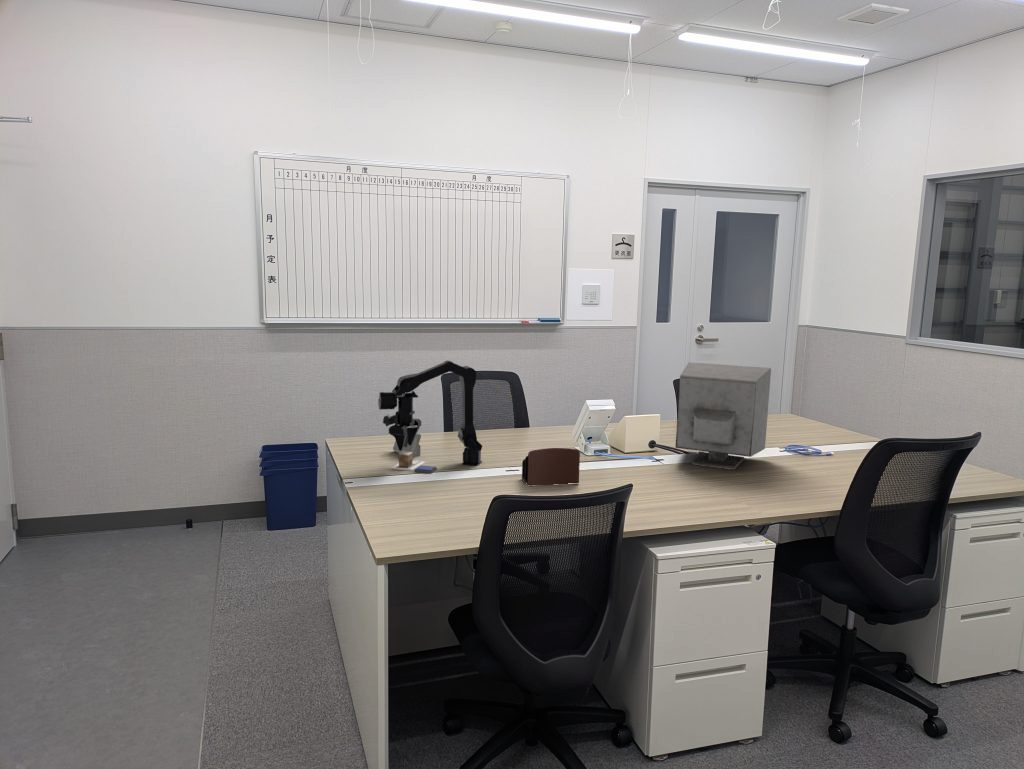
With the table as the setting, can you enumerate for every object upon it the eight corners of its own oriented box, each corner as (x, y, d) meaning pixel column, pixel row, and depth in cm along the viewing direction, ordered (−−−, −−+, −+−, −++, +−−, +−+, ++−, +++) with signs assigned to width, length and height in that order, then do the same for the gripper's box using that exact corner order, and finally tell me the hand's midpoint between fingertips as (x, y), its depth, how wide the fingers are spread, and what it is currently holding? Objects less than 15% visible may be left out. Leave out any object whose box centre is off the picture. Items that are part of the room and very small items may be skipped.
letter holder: (579, 484, 275) (580, 447, 273) (527, 486, 271) (528, 449, 269) (571, 477, 285) (572, 441, 283) (521, 479, 281) (522, 443, 278)
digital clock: (391, 451, 318) (391, 427, 316) (411, 449, 322) (411, 425, 320) (403, 460, 304) (403, 435, 302) (424, 458, 308) (424, 433, 306)
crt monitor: (764, 458, 321) (771, 367, 315) (753, 479, 287) (761, 378, 281) (683, 449, 335) (689, 361, 329) (664, 467, 302) (670, 370, 296)
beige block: (412, 465, 293) (412, 452, 292) (408, 468, 289) (408, 454, 289) (403, 464, 294) (403, 451, 293) (398, 467, 290) (398, 453, 290)
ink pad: (436, 469, 290) (436, 466, 290) (431, 473, 284) (431, 470, 284) (420, 468, 292) (420, 464, 292) (414, 471, 286) (414, 468, 286)
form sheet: (425, 462, 300) (425, 461, 300) (412, 470, 288) (412, 469, 287) (405, 460, 302) (405, 459, 302) (391, 468, 290) (391, 467, 290)
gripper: (396, 403, 299) (396, 440, 302) (376, 411, 281) (376, 451, 284) (421, 405, 296) (421, 443, 299) (403, 413, 279) (402, 453, 281)
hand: (405, 447), depth 291 cm, fingers open, 9 cm apart
